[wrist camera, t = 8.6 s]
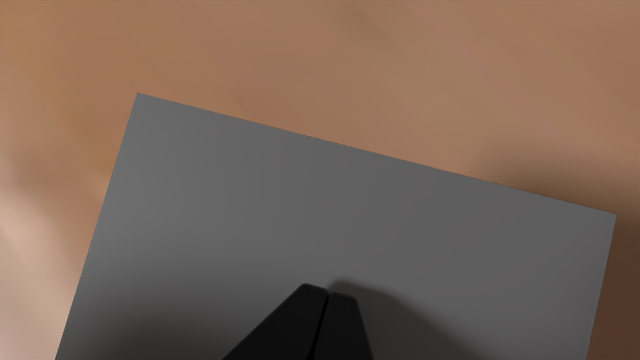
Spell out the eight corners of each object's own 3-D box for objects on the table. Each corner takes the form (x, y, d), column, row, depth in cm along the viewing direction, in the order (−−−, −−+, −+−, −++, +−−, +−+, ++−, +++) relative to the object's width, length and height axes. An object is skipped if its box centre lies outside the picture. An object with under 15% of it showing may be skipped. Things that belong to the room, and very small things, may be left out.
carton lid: (658, 733, 7) (749, 248, 8) (-109, 478, 8) (28, 65, 9) (499, 479, 15) (552, 244, 16) (113, 363, 16) (177, 146, 17)
